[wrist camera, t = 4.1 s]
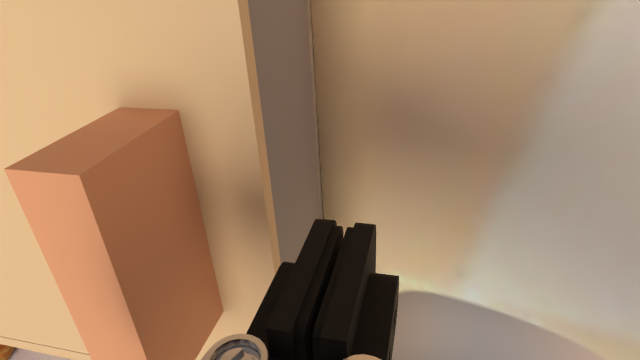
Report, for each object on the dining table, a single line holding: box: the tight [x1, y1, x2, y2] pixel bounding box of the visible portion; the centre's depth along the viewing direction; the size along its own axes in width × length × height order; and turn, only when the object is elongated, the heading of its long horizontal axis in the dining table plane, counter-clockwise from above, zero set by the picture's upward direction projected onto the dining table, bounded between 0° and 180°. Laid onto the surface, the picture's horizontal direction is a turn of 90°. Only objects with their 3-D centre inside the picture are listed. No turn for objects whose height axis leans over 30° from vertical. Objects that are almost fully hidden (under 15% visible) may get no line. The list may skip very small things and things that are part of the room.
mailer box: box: [248, 0, 324, 263], centre depth 20 cm, size 20×16×6 cm
